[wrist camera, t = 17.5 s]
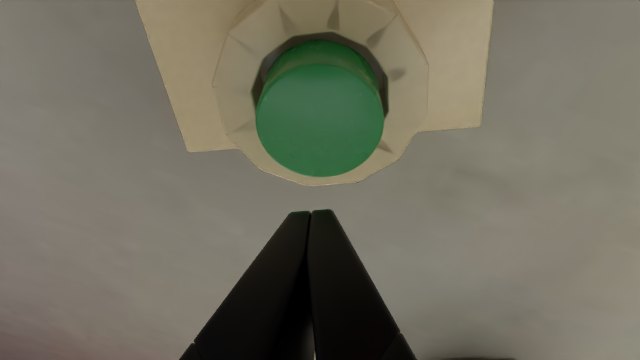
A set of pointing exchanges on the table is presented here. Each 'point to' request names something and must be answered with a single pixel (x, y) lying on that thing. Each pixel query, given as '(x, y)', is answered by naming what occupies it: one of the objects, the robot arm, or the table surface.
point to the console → (319, 24)
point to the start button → (320, 109)
